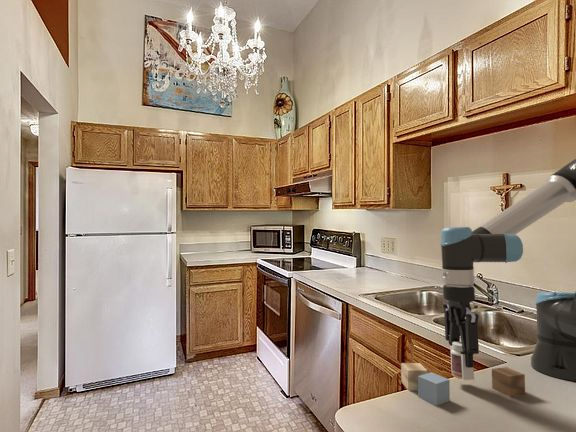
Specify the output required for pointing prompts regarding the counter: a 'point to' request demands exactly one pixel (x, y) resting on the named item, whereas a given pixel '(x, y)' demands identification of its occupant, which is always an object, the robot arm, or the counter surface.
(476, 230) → the robot arm
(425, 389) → the slate blue cube
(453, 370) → the pill bottle
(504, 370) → the walnut cube
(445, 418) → the counter surface
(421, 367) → the maple cube
